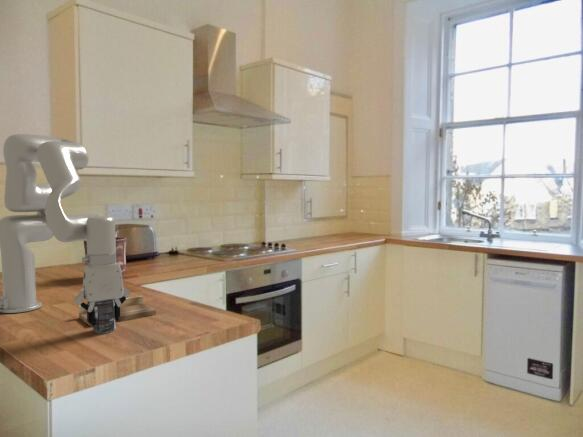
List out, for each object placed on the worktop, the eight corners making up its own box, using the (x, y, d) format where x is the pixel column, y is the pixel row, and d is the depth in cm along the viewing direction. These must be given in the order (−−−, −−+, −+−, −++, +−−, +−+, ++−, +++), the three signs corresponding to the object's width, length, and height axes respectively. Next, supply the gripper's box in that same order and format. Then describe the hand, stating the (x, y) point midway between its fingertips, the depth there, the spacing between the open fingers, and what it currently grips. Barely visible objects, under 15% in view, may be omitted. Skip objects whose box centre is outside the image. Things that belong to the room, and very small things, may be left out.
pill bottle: (118, 327, 132) (117, 289, 131) (111, 333, 126) (109, 293, 125) (97, 327, 131) (96, 289, 131) (89, 334, 126) (88, 294, 125)
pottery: (118, 282, 194) (117, 241, 193) (77, 282, 194) (76, 241, 193) (132, 275, 211) (132, 236, 210) (95, 275, 211) (94, 236, 210)
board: (90, 327, 132) (90, 313, 132) (79, 318, 141) (78, 305, 141) (156, 314, 145) (155, 302, 144) (141, 307, 154) (141, 295, 154)
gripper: (72, 265, 119) (75, 331, 120) (137, 258, 130) (138, 319, 131) (65, 261, 125) (67, 325, 126) (127, 255, 136) (129, 314, 137)
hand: (104, 321), depth 128 cm, fingers closed on pill bottle, 6 cm apart
